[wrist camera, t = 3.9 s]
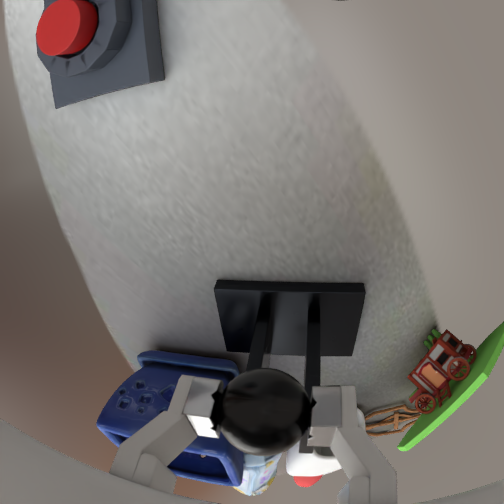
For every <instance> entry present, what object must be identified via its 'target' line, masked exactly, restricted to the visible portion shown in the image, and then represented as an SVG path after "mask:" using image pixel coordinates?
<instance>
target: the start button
mask: <svg viewBox="0 0 504 504" xmlns="http://www.w3.org/2000/svg"><path fill="white" fill-rule="evenodd" d="M97 22H98V16H97V11H96V9H95V7H94V6H93V5H92V4H91V3H90V2H88V1H85V0H57V1H55V2H54V3H52V4H51V5H50V6H49V7H48V8H47V9H46V10H45V11H44V13H43V14H42V16H41V18H40V20H39V23H38V26H37V33H36V38H37V44H38V46H39V48H40V50H41V51H42V52H43V53H45V54H46V55H50V56H55V55H63V54H72V53H76V52H78V51H80V50H82V49H83V48H84V47H85V46H86V45H87V44H88V43H89V42H90V41H91V39H92V37H93V35H94V33H95V31H96V28H97Z"/></svg>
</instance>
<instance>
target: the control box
mask: <svg viewBox="0 0 504 504" xmlns="http://www.w3.org/2000/svg"><path fill="white" fill-rule="evenodd" d="M55 1H57V0H44V10H43V13H44V11H45V10H46V9H47V8H48V7H49V6H50V5H51V4H52V3H54V2H55ZM85 1H88V2H90V3H91V4H92V5H93V6H94V7H95V9H96V11H97V16H98V22H97V28H96V31H95V33H94V35H93V37H92V39H91V41H90V42H89V43H88V44H87V45H86V46H85V47H84V48H83V49H82V50H80V51H78V52H76V53H72V54H63V55H55V56H50V55H46V54H45V53H43V52H42V51H41V50H40V48H39V46H38V44H37V38H36V44H37V54H38V57H39V58H40V60H41V61H42V63H43V64H44V66H45V67H46V69H47V70H48V71H49V72H50V78H51V85H52V91H53V97H54V103H55V108H56V109H58V108H60V107H64V106H67V105H70V104H73V103H76V102H79V101H82V100H85V99H89V98H92V97H96V96H99V95H103V94H106V93H110V92H114V91H118V90H121V89H126V88H130V87H134V86H138V85H143V84H147V83H152V82H157V81H162V80H164V71H163V62H162V54H161V44H160V35H159V25H158V14H157V2H156V0H85ZM43 13H42V14H43ZM36 33H37V32H36Z"/></svg>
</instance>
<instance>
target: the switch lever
mask: <svg viewBox="0 0 504 504" xmlns="http://www.w3.org/2000/svg"><path fill="white" fill-rule="evenodd" d="M310 416H311V405H310V401H309V397H308V395H307V393H306V391H305V389H304V388H303V386H302V385H301V384H300V383H299V382H298V381H297V380H296V379H295V378H294V377H292V376H291V375H289V374H287V373H285V372H283V371H280V370H277V369H272V368H257V369H252V370H249V371H246V372H244V373H242V374H240V375H238V376H237V377H235V378H234V379H233V380H231V381H230V382H229V383H228V385H227V386H226V387H225V388H224V390H223V391H222V393H221V395H220V398H219V401H218V405H217V420H218V424H219V427H220V430H221V432H222V433H223V435H224V437H225V438H226V439H227V440H228V441H229V442H230V443H231V444H232V445H233V446H234V447H236V448H237V449H239V450H240V451H242V452H245V453H247V454H251V455H255V456H272V455H277V454H280V453H282V452H285V451H287V450H289V449H290V448H292V447H293V446H294V445H295V444H297V443H298V442H299V441H300V439H301V438H302V437H303V436H304V434H305V432H306V431H307V428H308V426H309V423H310Z"/></svg>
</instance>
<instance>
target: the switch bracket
mask: <svg viewBox="0 0 504 504" xmlns="http://www.w3.org/2000/svg"><path fill="white" fill-rule="evenodd" d="M214 292H215V297H216V302H217V307H218V312H219V317H220V322H221V327H222V331H223V336H224V341H225V345H226V350H227V351H229V352H242V353H250V354H249V359H248V364H247V369H246V371H249V370H252V369H257V368H269V363H270V356H271V354H274V355H298V356H305V370H304V387H303V388H304V389H305V391H306V393H307V395H308V397H309V401H310V400H311V394H312V386H320V356H352V353H353V349H354V345H355V341H356V336H357V332H358V328H359V323H360V318H361V314H362V309H363V304H364V299H365V294H366V292H365V287H364V283H304V282H264V281H234V280H217V282H216V284H215V287H214ZM308 428H309V426H308ZM308 428H307V431H306V432H305V434H304V436H303V437H302V438H301V439H300V442H299V453H308V454H312V453H313V450H314V446H307V441H308Z"/></svg>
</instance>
